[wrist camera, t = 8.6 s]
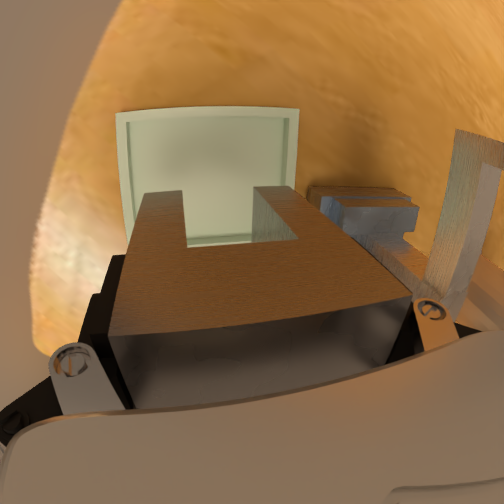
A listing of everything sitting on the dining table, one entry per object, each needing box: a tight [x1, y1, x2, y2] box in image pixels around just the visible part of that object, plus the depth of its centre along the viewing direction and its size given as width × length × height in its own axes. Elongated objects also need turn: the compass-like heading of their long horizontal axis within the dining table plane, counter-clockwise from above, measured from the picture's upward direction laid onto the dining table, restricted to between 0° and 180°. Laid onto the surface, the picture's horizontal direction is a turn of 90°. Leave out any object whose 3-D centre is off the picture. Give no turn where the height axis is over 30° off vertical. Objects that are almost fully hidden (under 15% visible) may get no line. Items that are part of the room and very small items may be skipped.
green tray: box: [116, 106, 299, 248], centre depth 24 cm, size 14×12×2 cm
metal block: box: [108, 186, 413, 409], centre depth 11 cm, size 7×4×10 cm, turn 88°
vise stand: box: [307, 129, 504, 323], centre depth 21 cm, size 10×16×17 cm, turn 178°
